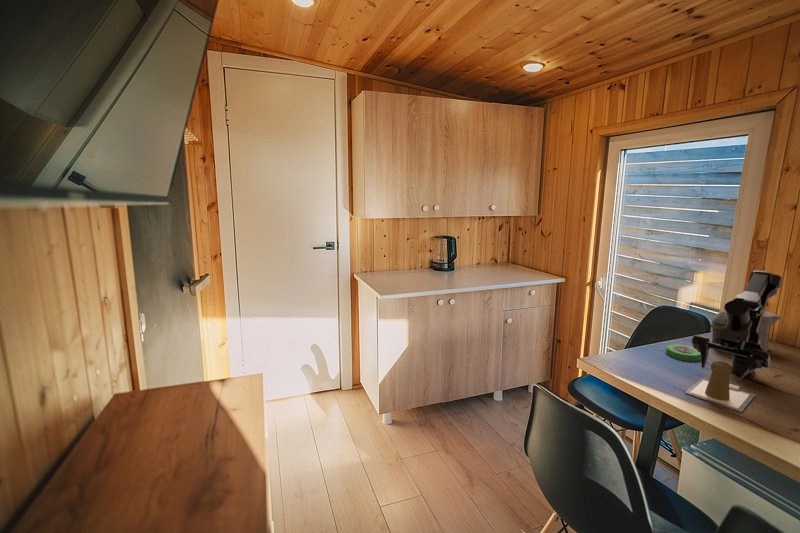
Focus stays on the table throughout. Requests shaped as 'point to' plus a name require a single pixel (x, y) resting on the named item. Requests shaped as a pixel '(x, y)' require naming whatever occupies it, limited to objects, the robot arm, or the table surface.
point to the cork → (719, 381)
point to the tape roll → (674, 349)
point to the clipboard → (736, 401)
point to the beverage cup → (718, 326)
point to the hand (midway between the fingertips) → (720, 373)
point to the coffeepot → (766, 328)
